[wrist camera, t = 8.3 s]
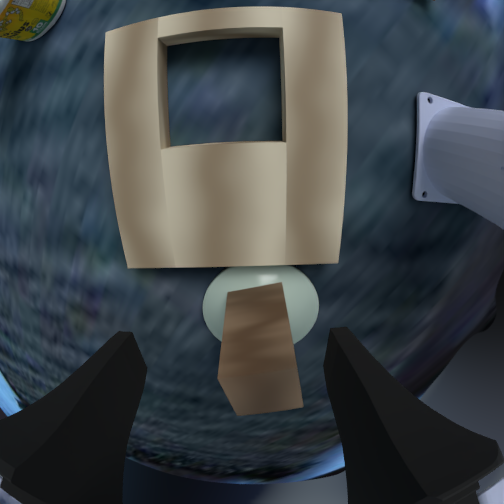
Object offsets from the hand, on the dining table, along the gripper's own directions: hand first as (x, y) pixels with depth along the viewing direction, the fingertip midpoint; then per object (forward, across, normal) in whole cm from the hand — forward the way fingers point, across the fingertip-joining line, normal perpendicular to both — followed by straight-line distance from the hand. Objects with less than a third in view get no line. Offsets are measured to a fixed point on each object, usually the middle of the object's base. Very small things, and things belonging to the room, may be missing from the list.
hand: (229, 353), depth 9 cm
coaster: (+10, -1, +6) cm, 12 cm away
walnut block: (+10, -1, +6) cm, 11 cm away
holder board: (+10, 0, -7) cm, 13 cm away
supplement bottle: (+11, +15, -21) cm, 28 cm away
